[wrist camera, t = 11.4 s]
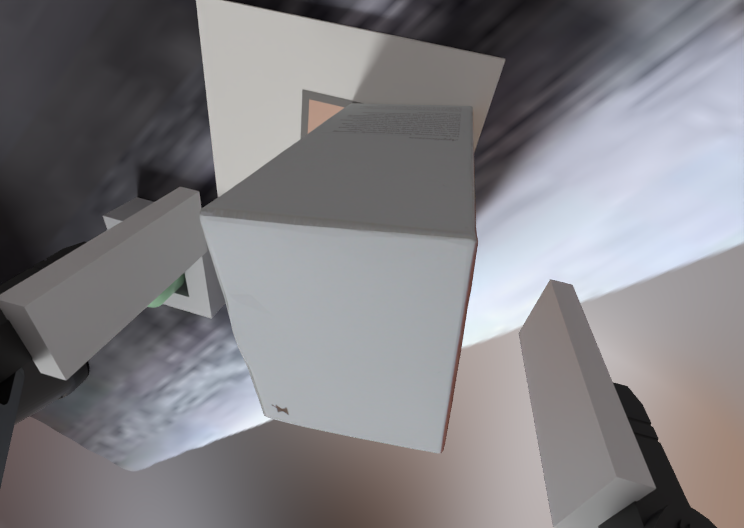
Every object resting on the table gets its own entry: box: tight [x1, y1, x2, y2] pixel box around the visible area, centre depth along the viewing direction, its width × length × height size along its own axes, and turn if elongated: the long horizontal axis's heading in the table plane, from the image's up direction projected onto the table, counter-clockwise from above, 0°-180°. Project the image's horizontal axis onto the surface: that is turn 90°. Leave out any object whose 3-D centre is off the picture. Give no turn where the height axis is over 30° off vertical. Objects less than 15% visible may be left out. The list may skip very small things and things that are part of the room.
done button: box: [147, 273, 185, 307], centre depth 25 cm, size 3×3×2 cm
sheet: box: [196, 0, 505, 197], centre depth 21 cm, size 15×13×1 cm
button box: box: [103, 197, 226, 318], centre depth 27 cm, size 7×7×3 cm
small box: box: [200, 103, 478, 453], centre depth 15 cm, size 8×6×13 cm
